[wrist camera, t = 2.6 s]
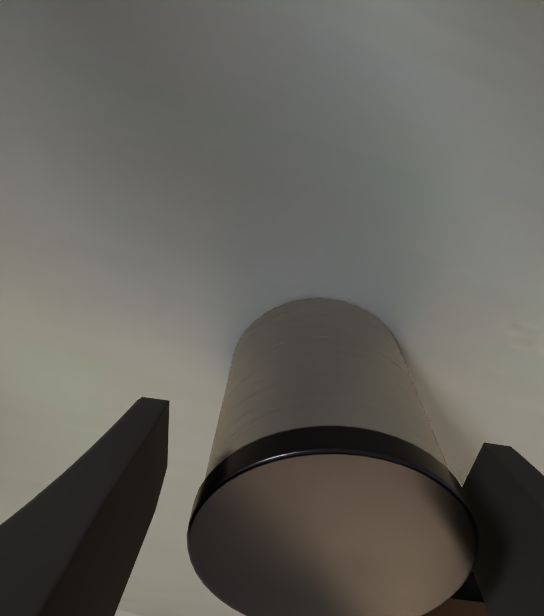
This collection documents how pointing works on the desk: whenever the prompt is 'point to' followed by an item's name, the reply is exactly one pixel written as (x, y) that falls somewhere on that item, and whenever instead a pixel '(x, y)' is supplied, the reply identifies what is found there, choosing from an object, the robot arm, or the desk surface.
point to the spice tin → (327, 477)
